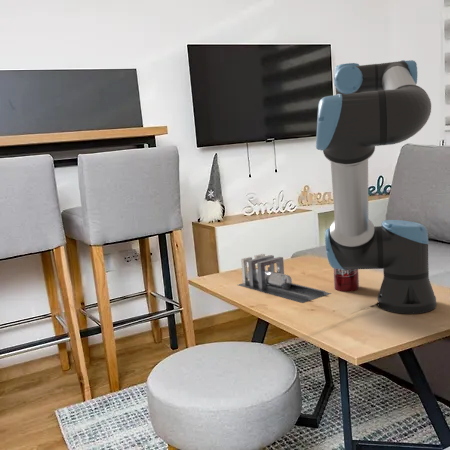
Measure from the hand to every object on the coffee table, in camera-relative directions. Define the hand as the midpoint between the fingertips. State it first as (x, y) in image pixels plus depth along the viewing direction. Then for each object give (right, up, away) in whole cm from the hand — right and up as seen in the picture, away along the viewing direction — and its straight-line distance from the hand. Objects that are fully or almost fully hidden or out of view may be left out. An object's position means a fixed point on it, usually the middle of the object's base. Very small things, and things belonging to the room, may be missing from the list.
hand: (352, 193), depth 160 cm
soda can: (-3, -31, -4) cm, 31 cm away
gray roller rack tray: (-22, -31, 0) cm, 38 cm away
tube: (-26, -30, +5) cm, 39 cm away
